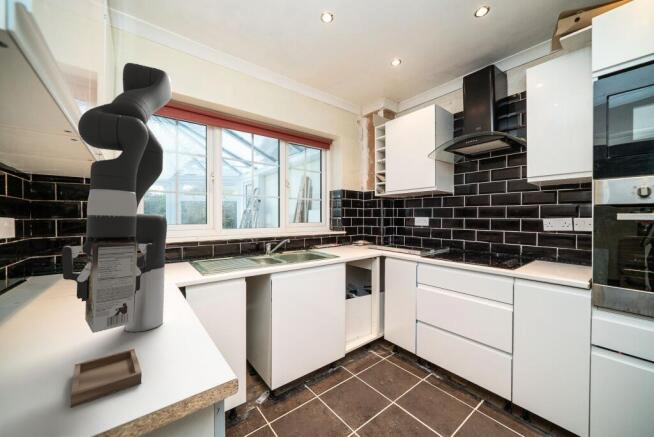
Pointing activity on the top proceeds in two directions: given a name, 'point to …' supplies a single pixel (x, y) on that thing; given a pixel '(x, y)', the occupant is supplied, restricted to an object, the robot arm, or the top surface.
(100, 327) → the coffee box
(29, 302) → the top surface
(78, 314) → the top surface
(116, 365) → the shallow square tray
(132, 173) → the robot arm
